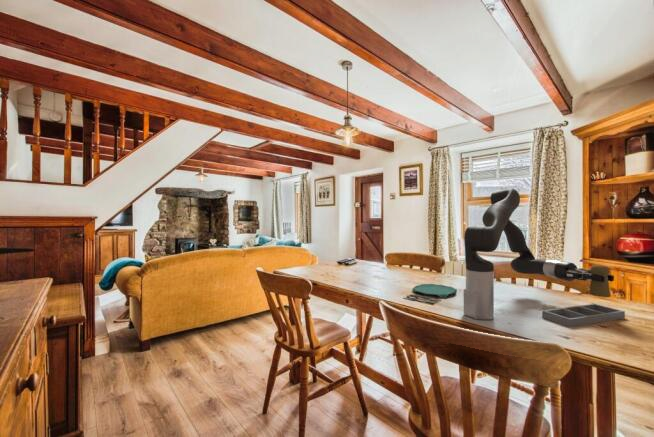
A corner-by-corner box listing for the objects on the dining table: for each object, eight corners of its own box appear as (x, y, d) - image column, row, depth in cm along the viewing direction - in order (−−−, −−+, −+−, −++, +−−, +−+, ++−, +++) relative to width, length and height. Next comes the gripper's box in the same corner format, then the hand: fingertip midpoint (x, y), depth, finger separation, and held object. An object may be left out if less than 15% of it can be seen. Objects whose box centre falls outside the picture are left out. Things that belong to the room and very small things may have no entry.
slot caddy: (570, 326, 98) (570, 319, 98) (542, 317, 107) (542, 310, 107) (624, 318, 106) (624, 311, 106) (593, 309, 115) (594, 303, 115)
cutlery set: (462, 292, 143) (462, 287, 143) (437, 307, 121) (437, 302, 121) (424, 286, 157) (424, 281, 157) (395, 299, 135) (395, 294, 135)
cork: (615, 297, 106) (615, 267, 105) (595, 296, 107) (596, 266, 107) (603, 292, 112) (603, 264, 111) (584, 292, 113) (585, 263, 113)
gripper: (547, 262, 121) (595, 270, 104) (571, 260, 125) (622, 267, 108) (546, 280, 121) (595, 291, 104) (571, 277, 125) (622, 287, 108)
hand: (608, 278), depth 106 cm, fingers closed on cork, 4 cm apart
